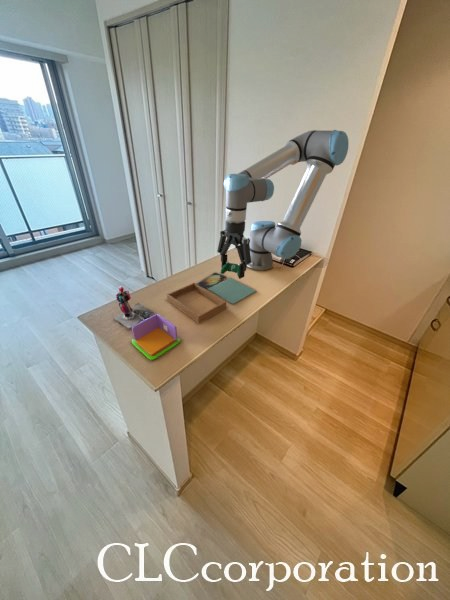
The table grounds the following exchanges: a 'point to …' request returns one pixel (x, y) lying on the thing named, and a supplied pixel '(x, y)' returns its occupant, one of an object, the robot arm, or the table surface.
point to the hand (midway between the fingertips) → (232, 273)
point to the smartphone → (211, 280)
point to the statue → (130, 310)
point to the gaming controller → (230, 268)
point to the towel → (231, 290)
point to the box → (204, 292)
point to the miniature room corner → (154, 336)
